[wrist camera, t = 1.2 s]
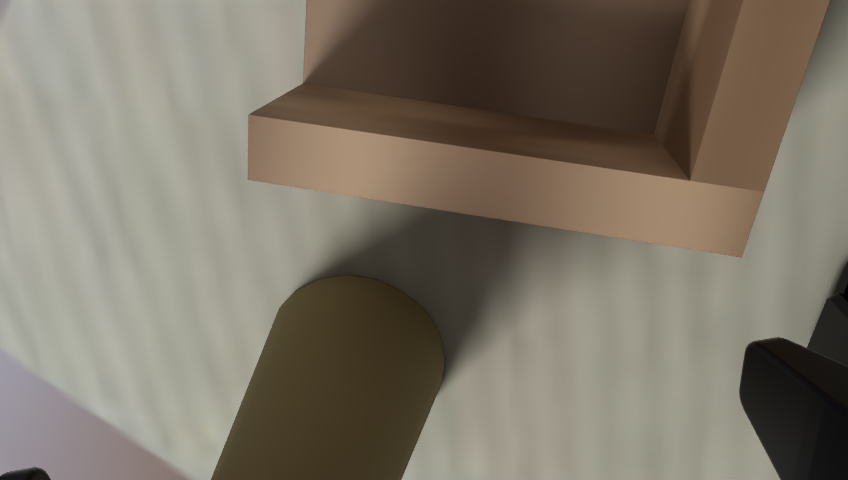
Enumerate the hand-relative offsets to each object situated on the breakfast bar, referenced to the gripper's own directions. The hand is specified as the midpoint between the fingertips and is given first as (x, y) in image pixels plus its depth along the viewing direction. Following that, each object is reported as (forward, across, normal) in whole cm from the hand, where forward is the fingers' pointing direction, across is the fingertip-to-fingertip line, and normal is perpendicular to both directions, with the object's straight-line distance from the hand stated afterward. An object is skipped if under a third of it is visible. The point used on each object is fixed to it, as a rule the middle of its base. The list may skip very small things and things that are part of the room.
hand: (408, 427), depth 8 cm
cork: (+12, +2, +8) cm, 14 cm away
